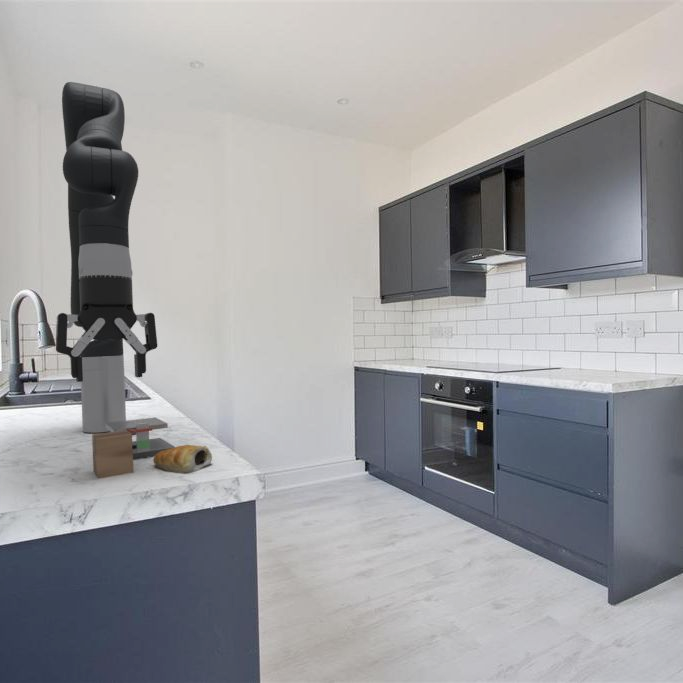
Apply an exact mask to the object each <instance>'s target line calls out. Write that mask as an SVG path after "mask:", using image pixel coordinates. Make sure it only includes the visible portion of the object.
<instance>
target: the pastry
mask: <svg viewBox="0 0 683 683" xmlns="http://www.w3.org/2000/svg"><path fill="white" fill-rule="evenodd" d="M152 461H153V463H154V464H155V466H156V467H157V468H158V469H162V470H163V471H166V472H174V473H182V474H189V473H194V472H197V471H200V470H201V469H202V468H205V467H207V466H208V465H210V464H211V462H212V461H213V456H212V453H211V451H210V449H209V448H208V447H207V446H206V445H204V446H201V445H198V446H197V445H191V444H183V445H178V446H174V448H171V449H167V450H163V451H160V452H159V453H157V454H156V455H155V456H153V460H152Z"/></svg>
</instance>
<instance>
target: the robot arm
mask: <svg viewBox="0 0 683 683" xmlns="http://www.w3.org/2000/svg"><path fill="white" fill-rule="evenodd" d="M61 96H62V97H61V107H62V119H63V120H62V122H63V131H64V140H65V149H66V151H65V153H64V156H63V159H62V174H63V177H64V179H65V182H66V183H67V211H68V212H67V213H68V231H69V244H70V246H69V247H70V263H71V264H70V267H71V269H70V271H71V272H70V314H69V313H65V312H61V313H59V314H58V315H57V316H56V334H55V336H56V338H55V351H56V352H57V353H59V354H63V355H66V356H68V357H69V358H70V376H71V377H72V379H75V380H76V382H77V383H79V382H80V390H81V392H80V394H81V422H82V432H83V433H92V434H98V433H108V432H110V431H109V430H108V429H107V428H106V426H105V423H111V422H120V421H127V412H126V411H127V410H126V407H127V406H126V387H125V386H126V384H125V383H126V382H125V361H124V360H125V356H124V342H123V340H124V341H125V342H126V343H127V344H128V345H129V346H130V347H131V348H132V350H133V351H134V352H135V353H134V354H133V356H134V357H133V358H134V360H133V361H134V363H133V364H134V377H135V378H143V374H146V372H147V359H146V358H147V357H146V356H147V355H146V354H147V353H148V352H151V351H153V350H156V349H157V348H158V338H157V329H156V318H155V317H156V316H155V314H154V313H153V312H148V313H144V314H143V313H142V314H137V313H135V310H134V303H133V302H134V298H133V270H132V260H131V255H130V240H129V236H130V235H129V219H130V211H131V205H132V202H133V198H134V195H135V191H136V188H137V184H138V181H139V180H138V179H139V167H138V163H137V161H136V160H135V158H134V156H132V154H130V153H129V152H127V151H126V150H123V148H122V147H123V145H122V141H123V137H124V131H125V118H126V116H125V113H126V112H125V105H124V101H123V99H122V96H121V95H120V94H119V92H116V90H113V89H110V88H106V87H101V86H97V85H96V86H95V85H90V84H87V83H86V84H85V83H80V82H74V81H67V82H66V83H64V86H63V87H62V95H61ZM137 322H138V323H139V324H140V326H141V327H142V328H144V336H145V343H142V342H141V341H140V340H139V338H138V336H137V335H136V334H135V333H134V332H133V331H132V328H133V327H134V325H135V324H136V323H137ZM73 325H75V326H77V327H79V328H82V329H83V330H84V332H83V333H82V335H81V336H80V337H79V339H78V340H77V342H76V343H75V344H73V346H69V345H67V342H68V340H67V339H68V329H70V328H72V327H73Z"/></svg>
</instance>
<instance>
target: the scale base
mask: <svg viewBox="0 0 683 683" xmlns="http://www.w3.org/2000/svg"><path fill="white" fill-rule="evenodd" d="M147 428H149V423H140V424H136V430H139V429H147ZM135 437H136V438H135V439H136V440H135V441H133V440H132V448H133V460H138V459H143V458H150V457H151V458H152V457H154V456H155V455H156V454H157V453H159V452H160V451H163V450H167V449H171V448H174V447H175V446H174V445H173V444H171V443H169V442H168V441H166V439H164V438H161V437H155V438H150V431H144V432H137V433H136V435H135Z"/></svg>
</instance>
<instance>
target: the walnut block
mask: <svg viewBox="0 0 683 683" xmlns="http://www.w3.org/2000/svg"><path fill="white" fill-rule="evenodd" d="M91 439H92V440H91V441H92V442H91V444H92V445H91V446H92V469H93V471H92V472H93V474H94V475H95V477H96V478H97V479H98V480H100V479H105V478H112V477H116V476H117V477H118V476H121V475H122V476H123V475H128V474H134V459H133V448H132V442H133V435H132V434H130V433H129V432H127V431H126V430H123V431H116V432H110V431H108V432H99V433H92V434H91Z"/></svg>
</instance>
